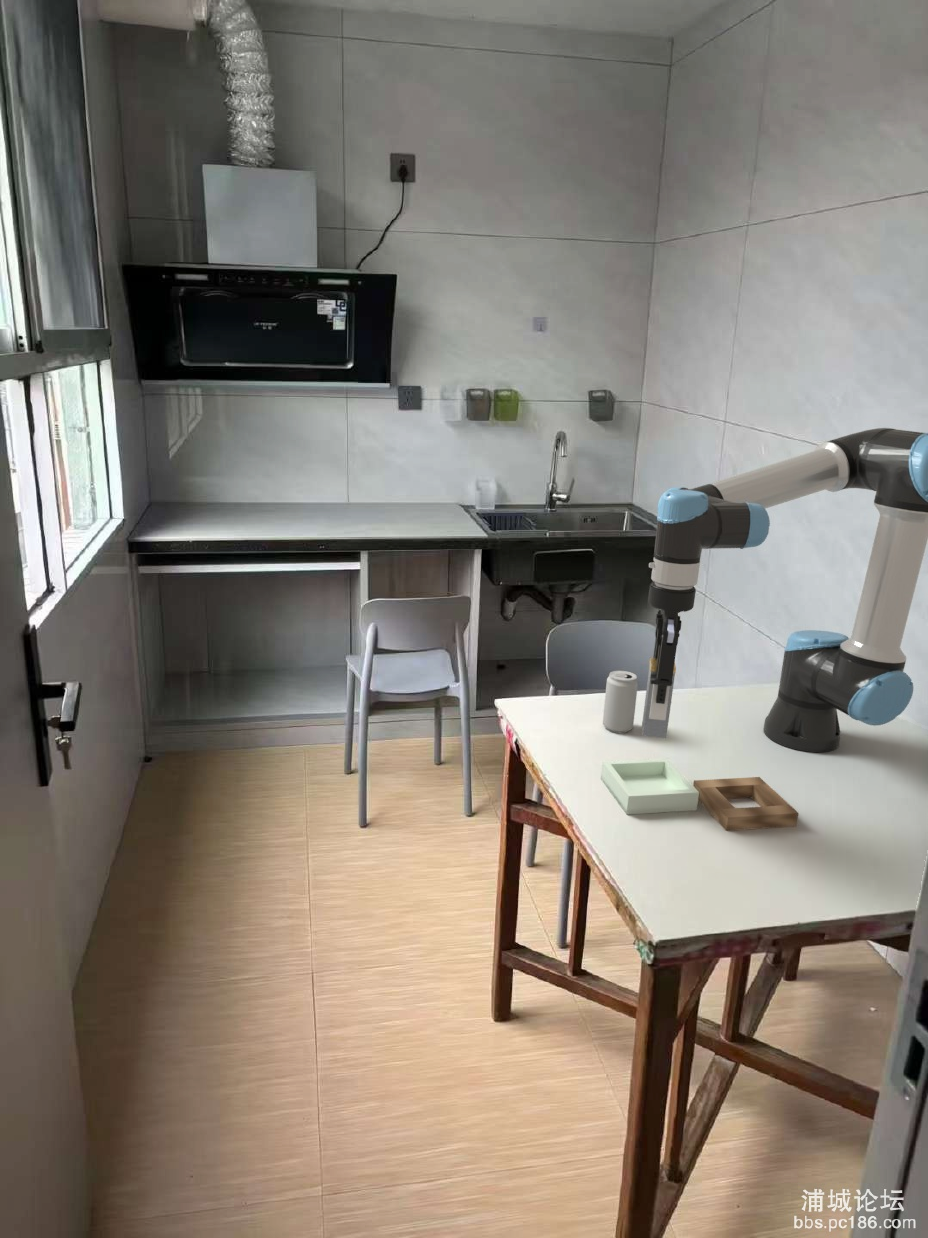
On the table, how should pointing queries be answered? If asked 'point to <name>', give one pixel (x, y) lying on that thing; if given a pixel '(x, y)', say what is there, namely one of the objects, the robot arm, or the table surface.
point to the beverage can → (620, 701)
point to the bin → (649, 786)
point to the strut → (650, 725)
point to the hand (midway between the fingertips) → (656, 713)
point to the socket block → (732, 818)
